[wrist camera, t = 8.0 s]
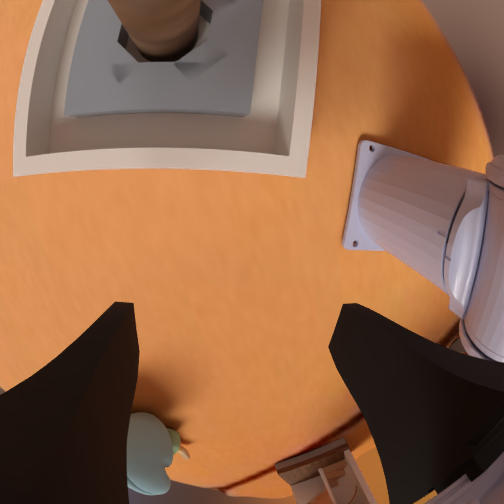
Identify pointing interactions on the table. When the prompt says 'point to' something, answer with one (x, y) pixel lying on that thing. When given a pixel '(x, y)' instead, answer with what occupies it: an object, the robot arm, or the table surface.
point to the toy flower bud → (150, 453)
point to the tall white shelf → (326, 476)
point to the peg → (160, 26)
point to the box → (169, 92)
